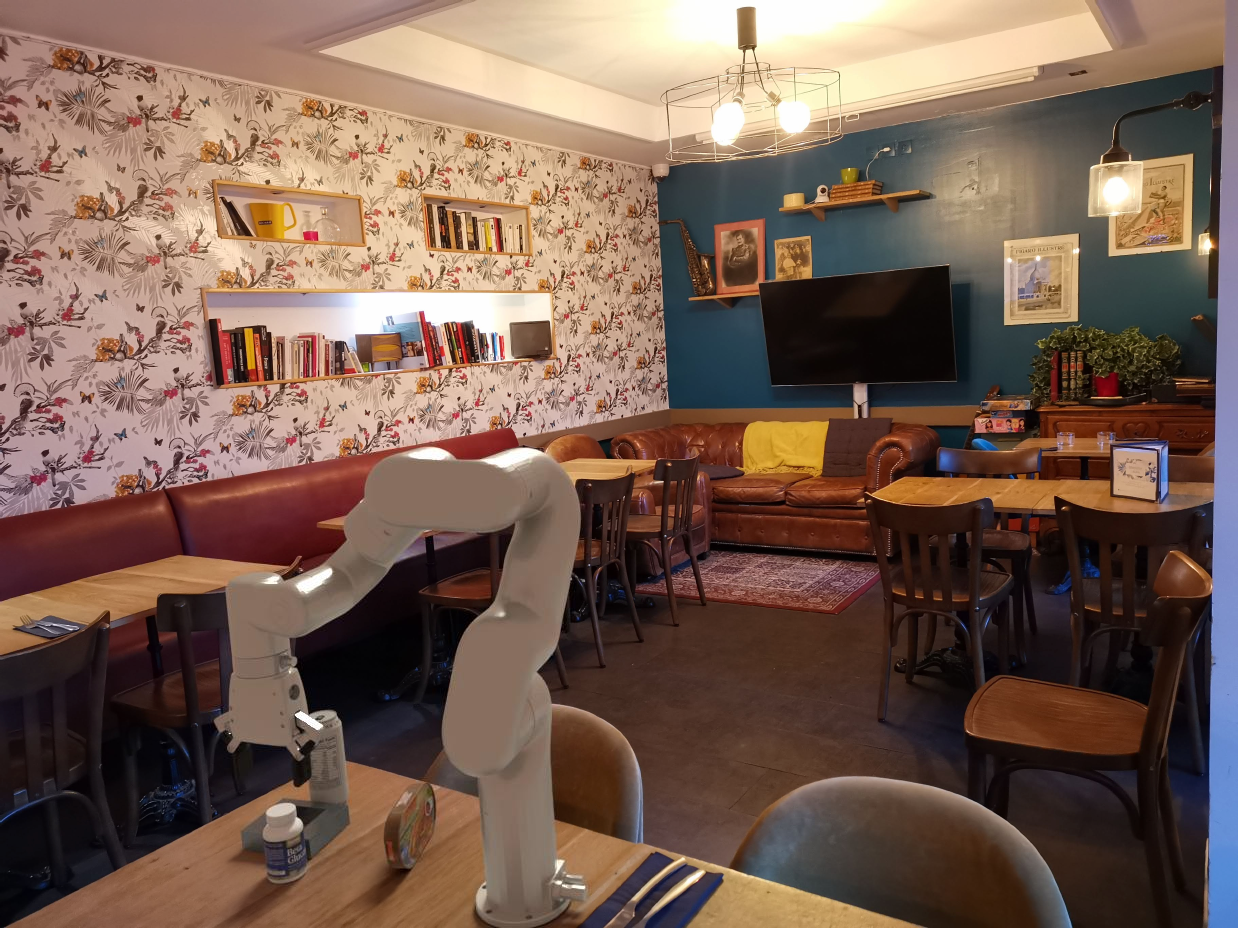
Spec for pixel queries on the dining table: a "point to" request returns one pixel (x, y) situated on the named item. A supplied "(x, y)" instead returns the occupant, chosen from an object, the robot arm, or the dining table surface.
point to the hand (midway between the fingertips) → (273, 778)
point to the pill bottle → (284, 844)
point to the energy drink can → (328, 761)
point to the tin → (410, 825)
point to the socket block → (317, 815)
